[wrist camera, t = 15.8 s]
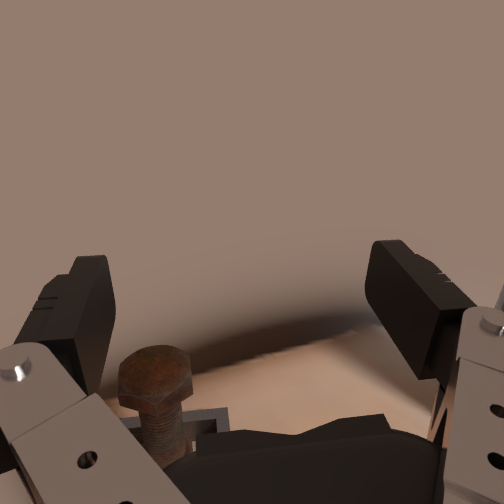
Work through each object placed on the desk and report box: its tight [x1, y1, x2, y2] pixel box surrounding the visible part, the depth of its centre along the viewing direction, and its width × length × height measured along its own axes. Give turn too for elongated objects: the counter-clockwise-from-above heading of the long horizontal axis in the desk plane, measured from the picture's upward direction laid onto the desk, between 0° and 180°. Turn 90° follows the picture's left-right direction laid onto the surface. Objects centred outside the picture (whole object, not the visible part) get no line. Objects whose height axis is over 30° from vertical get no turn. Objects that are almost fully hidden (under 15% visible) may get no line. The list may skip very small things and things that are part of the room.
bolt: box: [118, 345, 193, 470], centre depth 33 cm, size 6×5×15 cm
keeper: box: [119, 407, 230, 446], centre depth 36 cm, size 11×11×3 cm
